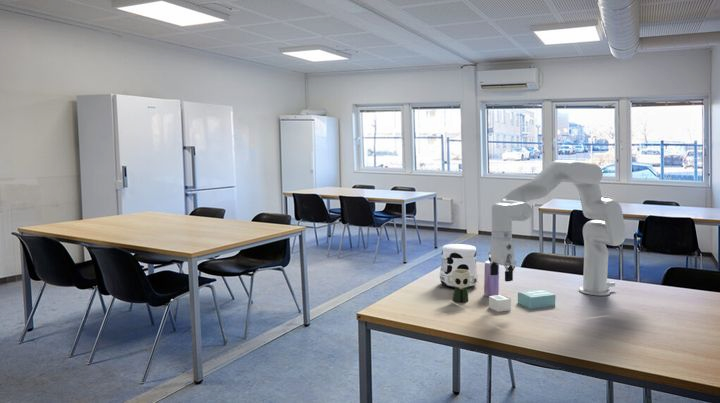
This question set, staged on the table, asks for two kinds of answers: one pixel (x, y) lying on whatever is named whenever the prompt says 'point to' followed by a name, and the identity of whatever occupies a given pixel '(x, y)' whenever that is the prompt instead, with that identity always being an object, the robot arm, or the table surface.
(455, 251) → the milk container
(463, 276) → the character mug
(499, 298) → the white box
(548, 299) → the striped teal box
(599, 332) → the table surface
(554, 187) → the robot arm
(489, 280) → the beverage can
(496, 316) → the table surface
